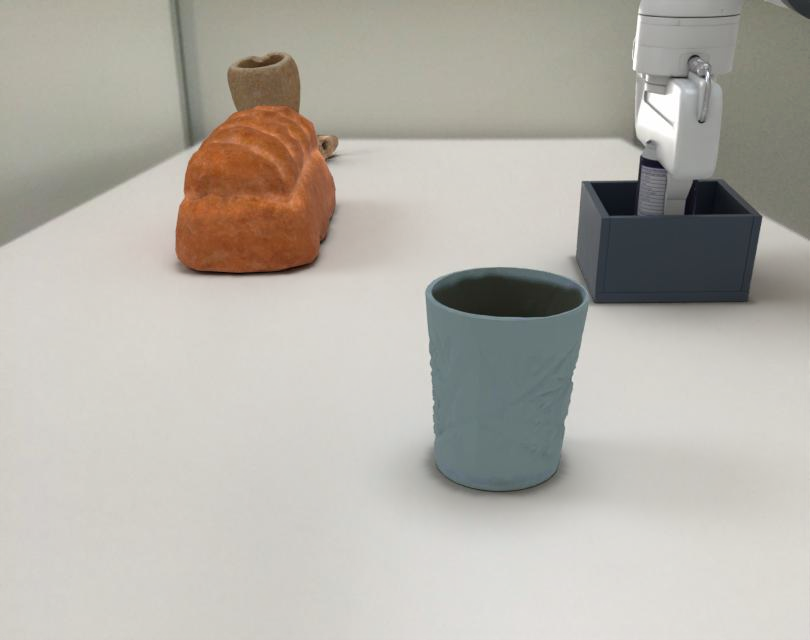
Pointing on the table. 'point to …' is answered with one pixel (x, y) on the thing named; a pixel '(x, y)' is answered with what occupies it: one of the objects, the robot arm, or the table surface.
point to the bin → (666, 246)
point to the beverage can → (656, 185)
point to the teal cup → (502, 372)
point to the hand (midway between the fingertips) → (664, 207)
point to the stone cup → (271, 88)
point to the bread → (255, 195)
